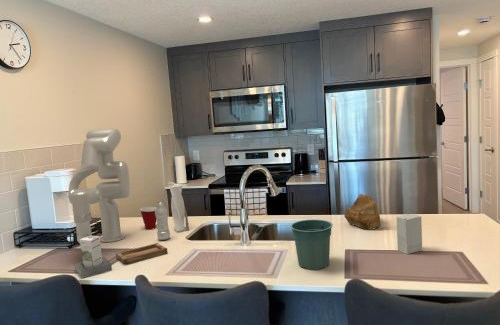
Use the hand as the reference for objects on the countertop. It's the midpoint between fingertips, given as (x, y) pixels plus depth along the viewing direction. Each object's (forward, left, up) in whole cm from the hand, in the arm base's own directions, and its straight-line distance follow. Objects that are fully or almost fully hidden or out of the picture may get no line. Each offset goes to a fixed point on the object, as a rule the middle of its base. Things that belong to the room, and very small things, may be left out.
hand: (87, 256), depth 177 cm
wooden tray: (+15, +21, -1) cm, 26 cm away
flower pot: (+79, +68, -2) cm, 104 cm away
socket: (+17, -1, -1) cm, 17 cm away
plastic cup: (-31, +43, -2) cm, 53 cm away
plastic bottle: (-2, +39, -2) cm, 39 cm away
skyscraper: (-12, +53, -2) cm, 54 cm away
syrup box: (+17, -1, -2) cm, 17 cm away
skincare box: (+97, +106, -2) cm, 144 cm away
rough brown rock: (+58, +124, -2) cm, 137 cm away
